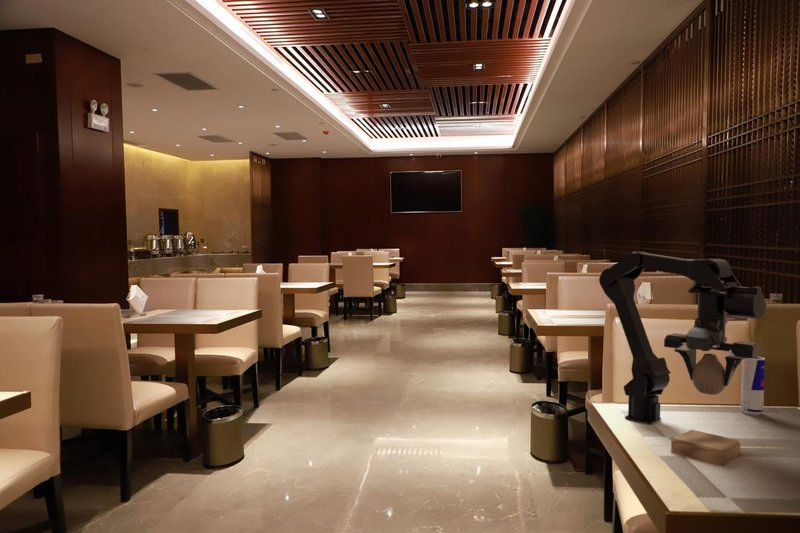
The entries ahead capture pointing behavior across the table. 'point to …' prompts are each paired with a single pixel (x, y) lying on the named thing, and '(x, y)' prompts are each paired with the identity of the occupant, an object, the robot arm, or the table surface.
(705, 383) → the vase
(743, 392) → the beverage can
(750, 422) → the table surface
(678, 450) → the plinth
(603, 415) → the table surface
